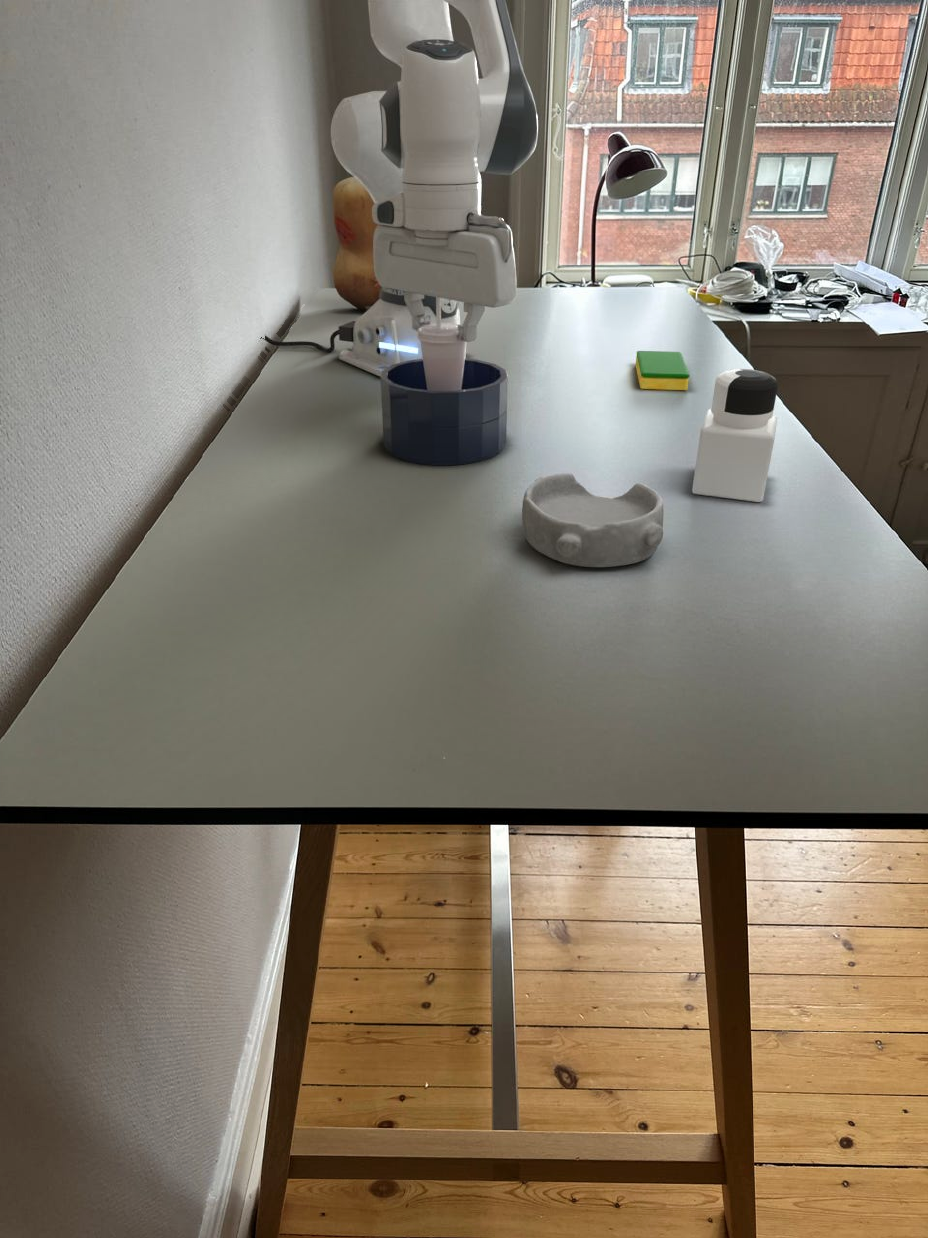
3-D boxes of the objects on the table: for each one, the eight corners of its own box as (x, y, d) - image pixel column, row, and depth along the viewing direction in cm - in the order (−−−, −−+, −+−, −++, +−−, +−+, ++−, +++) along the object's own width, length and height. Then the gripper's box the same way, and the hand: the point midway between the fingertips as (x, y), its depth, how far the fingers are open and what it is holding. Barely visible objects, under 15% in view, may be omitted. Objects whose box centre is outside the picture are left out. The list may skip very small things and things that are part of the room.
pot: (359, 444, 114) (354, 374, 109) (443, 416, 124) (442, 350, 119) (446, 475, 105) (445, 400, 100) (530, 442, 115) (532, 372, 110)
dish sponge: (679, 366, 146) (681, 351, 145) (687, 390, 134) (689, 374, 133) (635, 364, 147) (636, 350, 145) (640, 389, 135) (641, 373, 134)
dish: (519, 512, 96) (521, 469, 93) (648, 514, 95) (653, 470, 93) (523, 576, 83) (524, 527, 81) (671, 578, 83) (677, 529, 80)
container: (765, 478, 104) (786, 367, 97) (762, 503, 98) (784, 387, 91) (698, 470, 106) (714, 361, 100) (691, 494, 100) (707, 379, 93)
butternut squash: (323, 308, 184) (312, 174, 171) (374, 299, 191) (368, 170, 178) (364, 319, 175) (356, 178, 162) (416, 309, 183) (412, 174, 170)
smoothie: (418, 400, 114) (415, 286, 107) (467, 399, 115) (467, 285, 108) (420, 416, 109) (416, 297, 102) (472, 414, 109) (472, 296, 102)
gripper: (530, 214, 96) (526, 344, 103) (400, 201, 108) (404, 318, 115) (492, 220, 92) (490, 354, 99) (361, 205, 104) (368, 326, 111)
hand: (443, 335), depth 107 cm, fingers closed on smoothie, 6 cm apart
